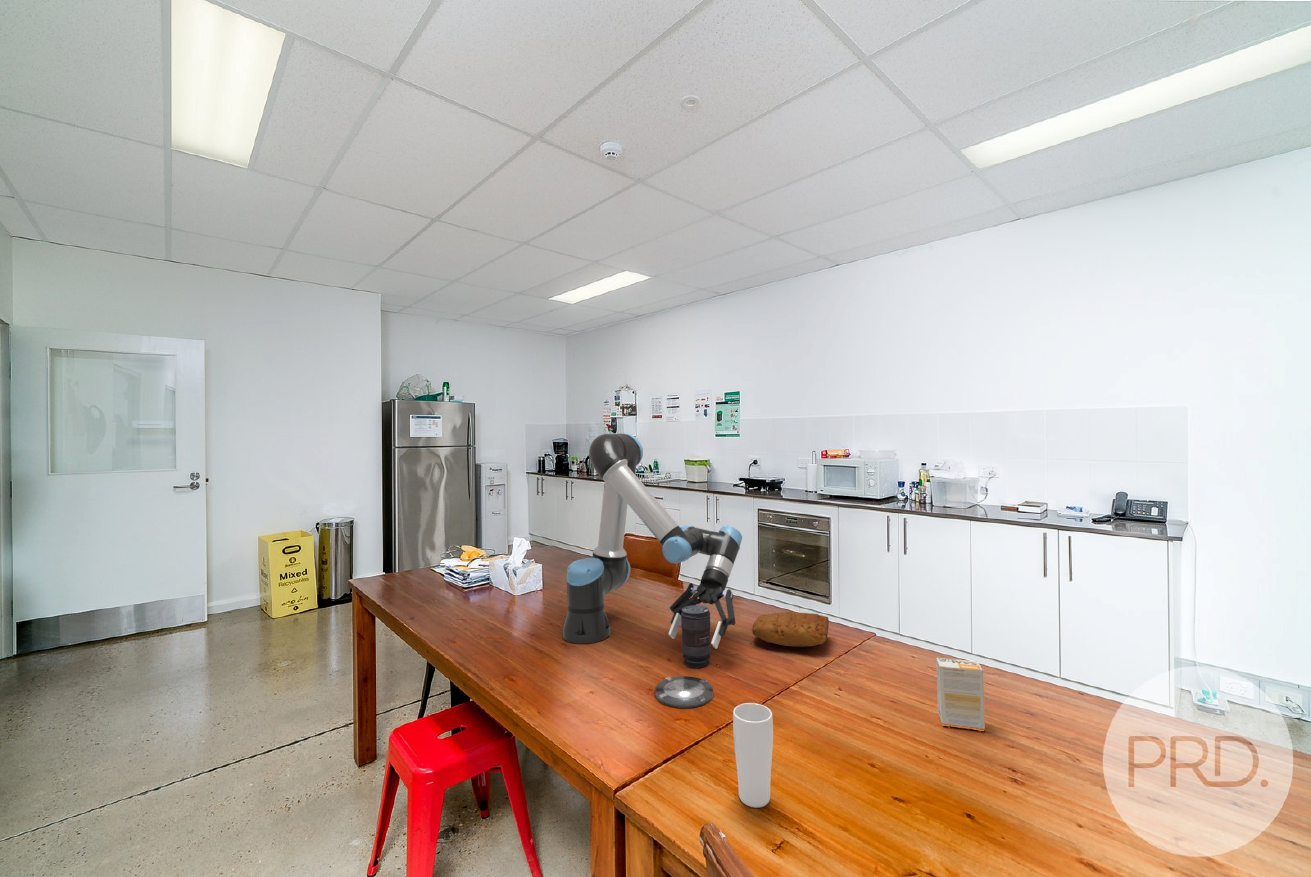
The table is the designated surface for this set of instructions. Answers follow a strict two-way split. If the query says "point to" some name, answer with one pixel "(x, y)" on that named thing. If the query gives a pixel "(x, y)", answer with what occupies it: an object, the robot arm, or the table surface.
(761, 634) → the bread loaf
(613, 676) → the table surface
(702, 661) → the camera lens
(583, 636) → the robot arm
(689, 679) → the mount plate
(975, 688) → the supplement box
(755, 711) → the drinking glass
